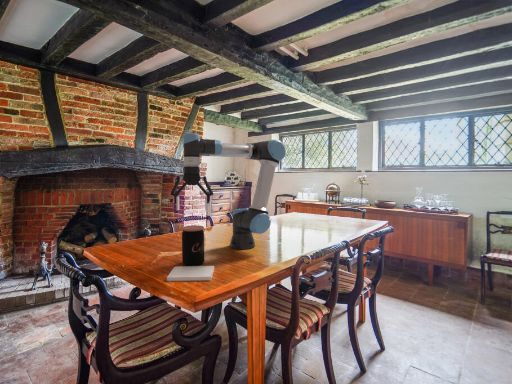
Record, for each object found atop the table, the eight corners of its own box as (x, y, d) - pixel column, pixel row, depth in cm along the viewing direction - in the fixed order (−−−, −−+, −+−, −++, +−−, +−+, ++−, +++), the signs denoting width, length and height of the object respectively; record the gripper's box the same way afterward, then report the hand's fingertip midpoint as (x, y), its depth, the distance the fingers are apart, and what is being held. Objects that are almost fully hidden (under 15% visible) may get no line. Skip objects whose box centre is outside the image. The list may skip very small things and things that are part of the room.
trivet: (214, 269, 134) (214, 265, 134) (210, 280, 120) (210, 276, 120) (174, 269, 133) (174, 266, 133) (166, 281, 119) (166, 277, 119)
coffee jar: (193, 268, 135) (193, 230, 134) (177, 264, 141) (176, 227, 140) (209, 262, 144) (208, 226, 143) (193, 259, 150) (192, 224, 149)
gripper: (163, 165, 135) (164, 211, 136) (217, 166, 136) (217, 210, 138) (167, 166, 143) (168, 209, 144) (218, 166, 144) (218, 209, 145)
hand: (192, 210), depth 141 cm, fingers open, 13 cm apart
